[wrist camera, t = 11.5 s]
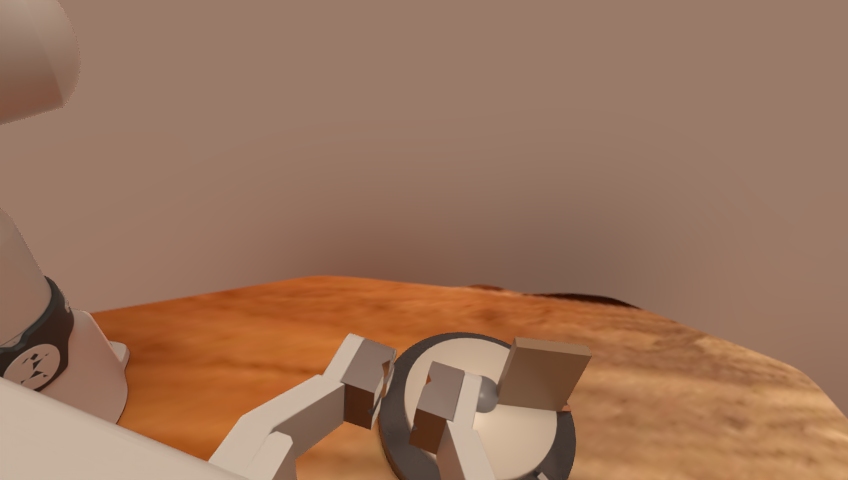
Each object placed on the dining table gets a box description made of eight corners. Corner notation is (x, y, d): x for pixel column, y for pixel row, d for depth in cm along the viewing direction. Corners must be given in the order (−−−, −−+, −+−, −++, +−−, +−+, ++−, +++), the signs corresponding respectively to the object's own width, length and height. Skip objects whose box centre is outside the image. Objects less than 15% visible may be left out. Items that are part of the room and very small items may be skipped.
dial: (395, 475, 36) (406, 408, 30) (410, 338, 49) (419, 273, 43) (574, 495, 36) (620, 434, 30) (541, 355, 49) (568, 292, 43)
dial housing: (344, 477, 37) (344, 465, 36) (413, 323, 54) (415, 312, 53) (570, 568, 33) (579, 558, 32) (569, 372, 50) (574, 362, 49)
